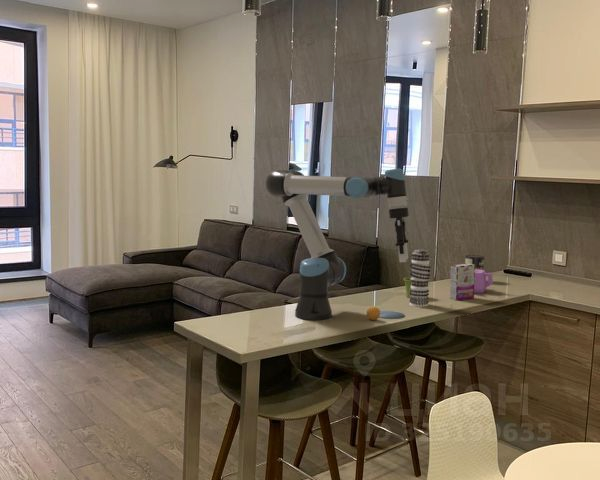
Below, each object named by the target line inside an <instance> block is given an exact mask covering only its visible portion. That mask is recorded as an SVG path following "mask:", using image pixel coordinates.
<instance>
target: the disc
mask: <svg viewBox="0 0 600 480" xmlns="http://www.w3.org/2000/svg"><path fill="white" fill-rule="evenodd" d="M405 316H406V315H405V314H404V313H403V312H398V311H394V310H393V311H391V310H383V311H382V310H381V311H380V317H379V318H380V319H390V320H392V319H395V320H396V319H397V320H398V319H401V318H402V319H403V318H404V317H405Z"/></svg>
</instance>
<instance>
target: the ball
mask: <svg viewBox="0 0 600 480" xmlns="http://www.w3.org/2000/svg"><path fill="white" fill-rule="evenodd" d="M366 316H367V318H368V319H369V320H371V321H376V320H378V319H379V318H380V309H379V307H377V306H370V307H368V308H367V309H366Z"/></svg>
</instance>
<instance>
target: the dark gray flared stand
mask: <svg viewBox="0 0 600 480" xmlns="http://www.w3.org/2000/svg"><path fill="white" fill-rule="evenodd" d="M484 262H485V256H483V255H477V254H466V255H464V264H473V265H475V270H483V271H484V266H485V265H484V264H485V263H484Z"/></svg>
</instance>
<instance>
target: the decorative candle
mask: <svg viewBox="0 0 600 480" xmlns="http://www.w3.org/2000/svg"><path fill="white" fill-rule="evenodd" d="M430 255H431V253H429V251H428V250H427V249H423V248H422V249H421V248H420V249H419V248H418V249H417V248H416V249H414V250H413V252H411V261H409V264H410V265H409V268H410V270H409V271H410V273H409V275H410V277H409V278H410V279H411V289H410V291H411V292H410V295H411V296H410V298H409V300H408V301H409V302H410V303H409V306H410V307H411V306H412V307H419V308H422V307H423V308H425V307H428V306H429V303H430V302H429V299H430V297H429V295H430V293H429V292H430V290H429V281H430V279H431V278H430V276H431V274H430V272H431V267H432V266H430Z"/></svg>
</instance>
